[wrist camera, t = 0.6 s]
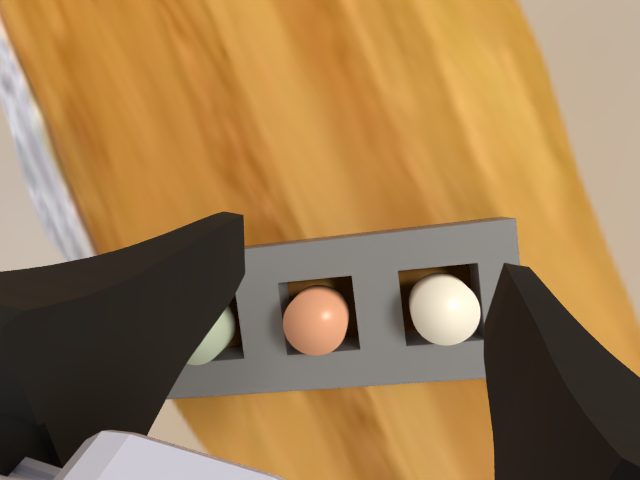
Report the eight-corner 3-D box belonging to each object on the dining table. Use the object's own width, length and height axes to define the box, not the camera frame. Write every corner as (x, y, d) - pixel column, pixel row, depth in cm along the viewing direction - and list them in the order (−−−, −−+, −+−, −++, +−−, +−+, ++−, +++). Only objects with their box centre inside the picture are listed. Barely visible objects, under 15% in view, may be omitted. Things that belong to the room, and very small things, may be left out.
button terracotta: (295, 344, 31) (287, 358, 28) (287, 287, 30) (279, 295, 28) (352, 340, 30) (350, 353, 28) (345, 282, 30) (342, 289, 27)
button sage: (186, 353, 32) (168, 367, 29) (177, 298, 32) (160, 307, 29) (239, 349, 31) (227, 362, 29) (231, 293, 31) (218, 301, 28)
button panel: (168, 383, 35) (148, 400, 32) (148, 257, 34) (127, 262, 31) (515, 358, 31) (530, 375, 28) (502, 216, 30) (515, 218, 27)
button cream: (412, 335, 30) (415, 347, 27) (405, 275, 29) (408, 283, 27) (474, 330, 29) (483, 342, 26) (468, 269, 29) (477, 276, 26)
